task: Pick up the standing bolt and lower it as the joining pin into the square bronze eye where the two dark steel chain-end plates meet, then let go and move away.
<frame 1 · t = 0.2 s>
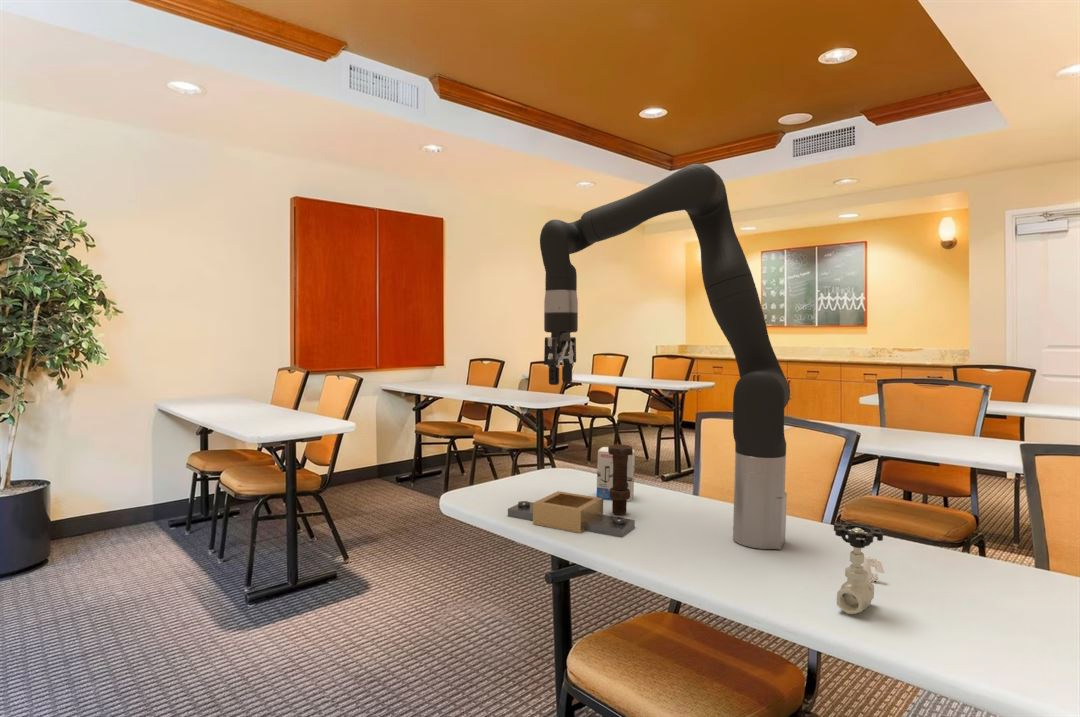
hand: (560, 383, 141), 28 cm above the table, tool pointing down, fingers open, 8 cm apart
valve: (855, 610, 92), on the table
chain link b: (531, 514, 137), on the table
chain link a: (607, 528, 128), on the table
ink box: (615, 498, 152), on the table
clip: (866, 581, 103), on the table
link eye: (568, 521, 132), on the table
bolt: (619, 514, 138), on the table
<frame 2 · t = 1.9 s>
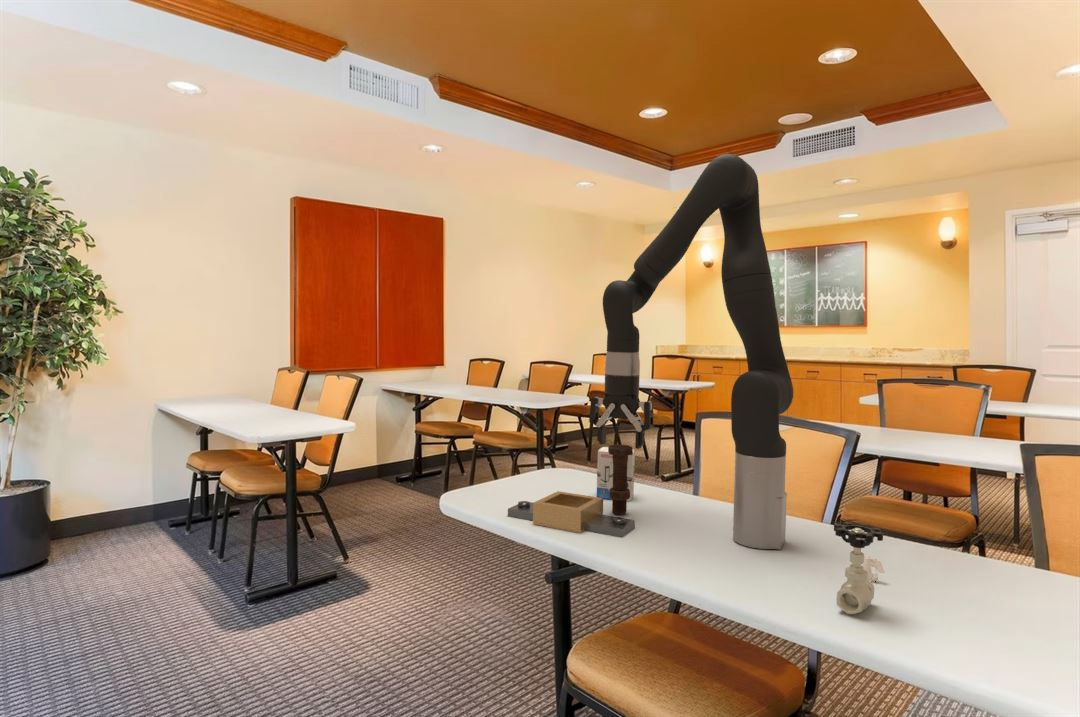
hand: (620, 445, 138), 15 cm above the table, tool pointing down, fingers open, 8 cm apart
nothing on the table moved.
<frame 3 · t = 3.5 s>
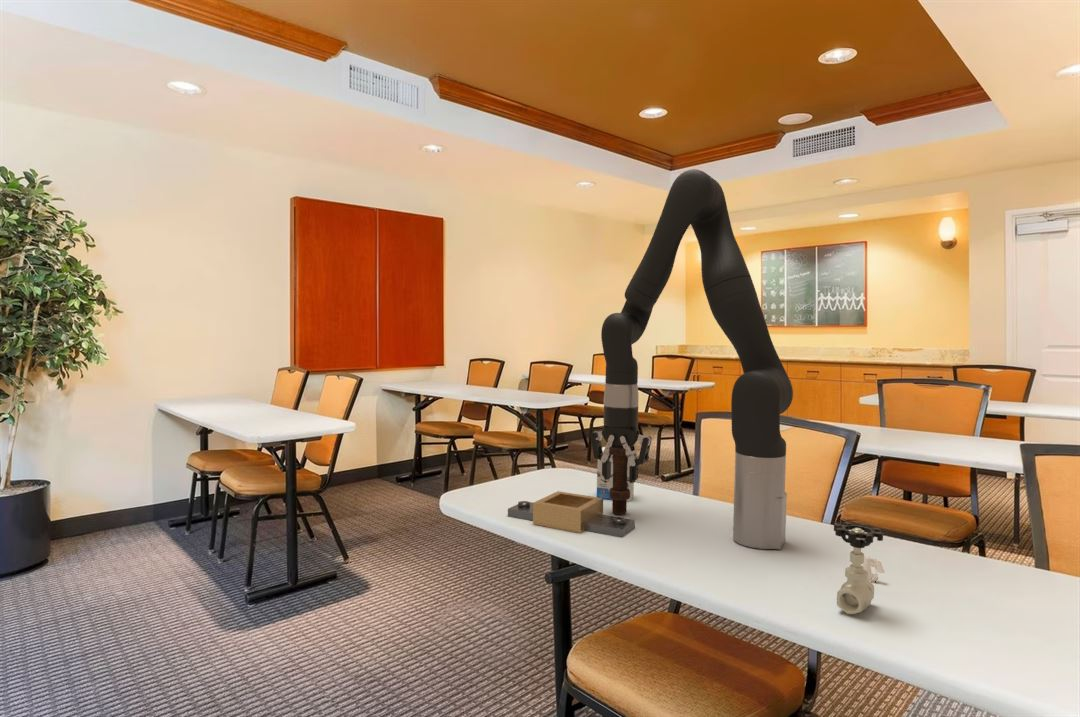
hand: (619, 480, 138), 7 cm above the table, tool pointing down, fingers closed on bolt, 5 cm apart
bolt: (619, 514, 138), on the table, touching gripper
everything else where it was.
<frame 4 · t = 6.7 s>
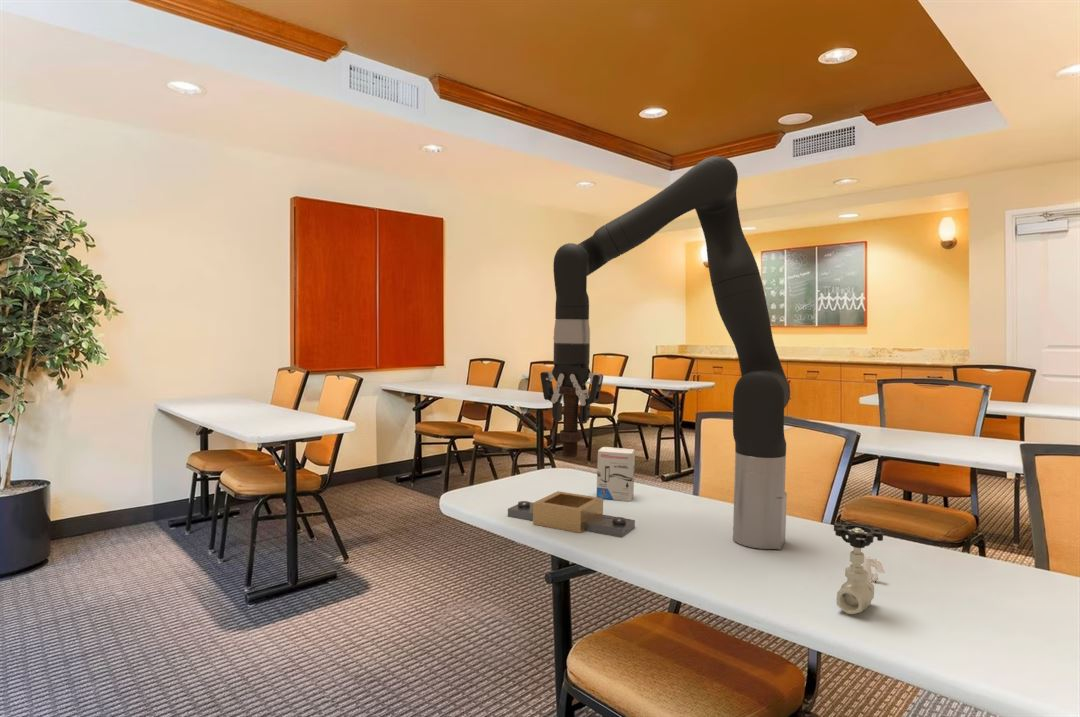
hand: (570, 421, 131), 21 cm above the table, tool pointing down, fingers closed on bolt, 5 cm apart
bolt: (569, 457, 132), point 14 cm above the table, touching gripper
everything else where it was.
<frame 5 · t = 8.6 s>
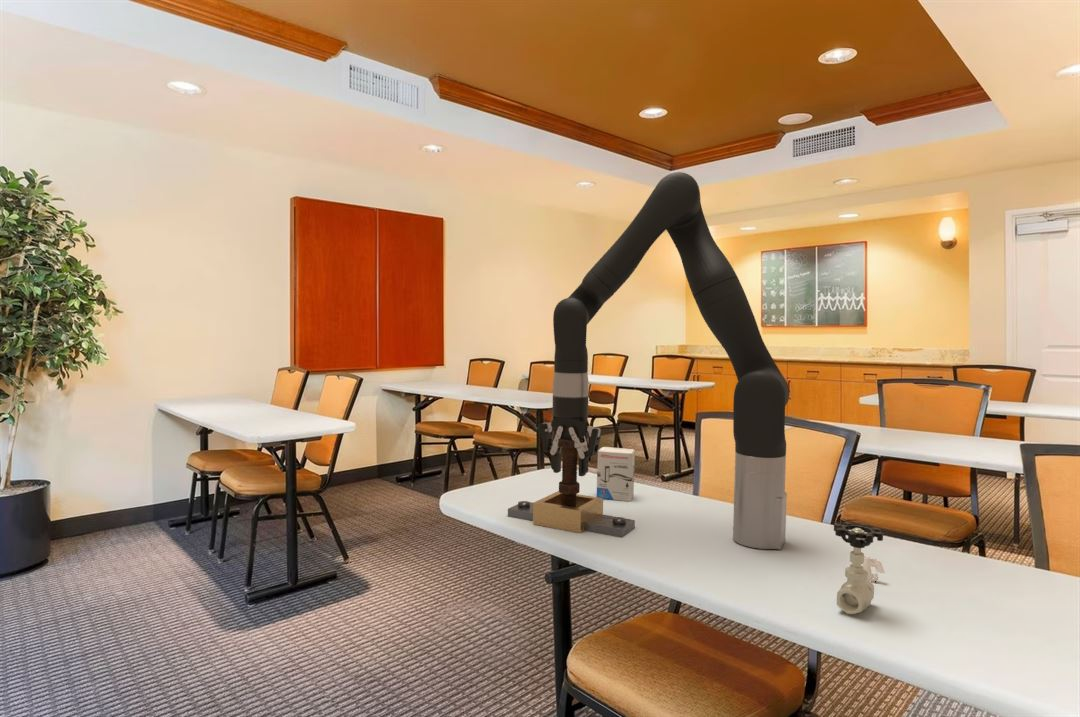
hand: (569, 473, 132), 10 cm above the table, tool pointing down, fingers closed on bolt, 5 cm apart
bolt: (568, 509, 132), point 3 cm above the table, touching gripper
everything else where it was.
when the fingers open (8 cm above the table, at t = 10.0 s): bolt stays where it is, resting in link eye.
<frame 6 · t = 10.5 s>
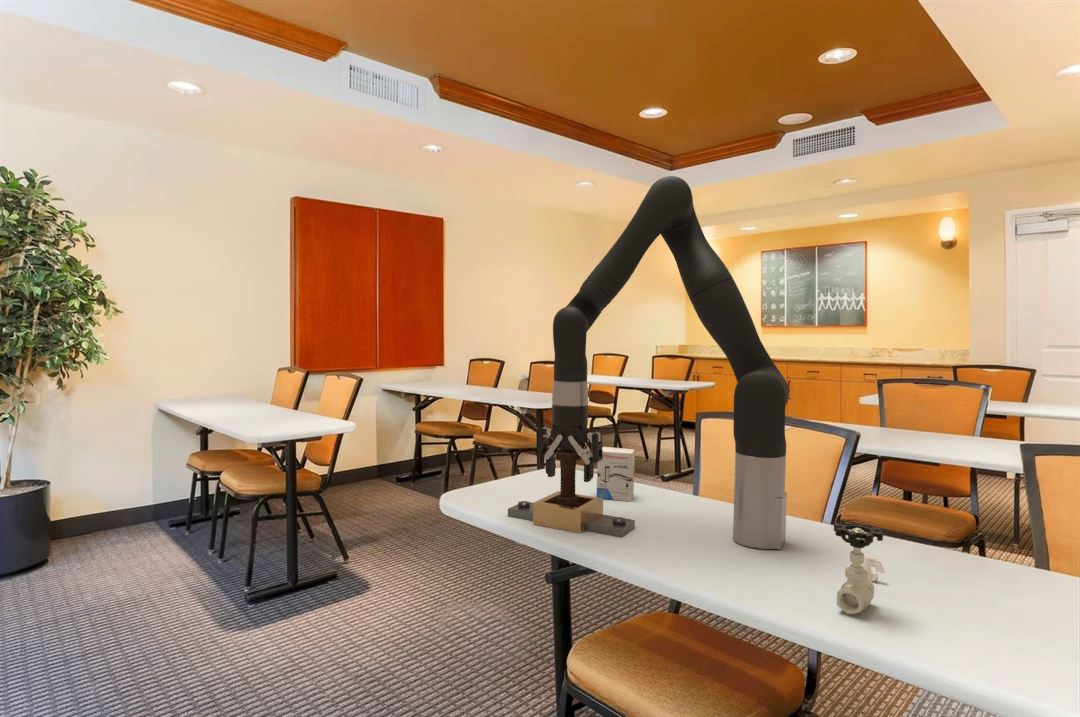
hand: (569, 478, 132), 9 cm above the table, tool pointing down, fingers open, 8 cm apart
bolt: (567, 522, 132), resting in link eye
everything else where it was.
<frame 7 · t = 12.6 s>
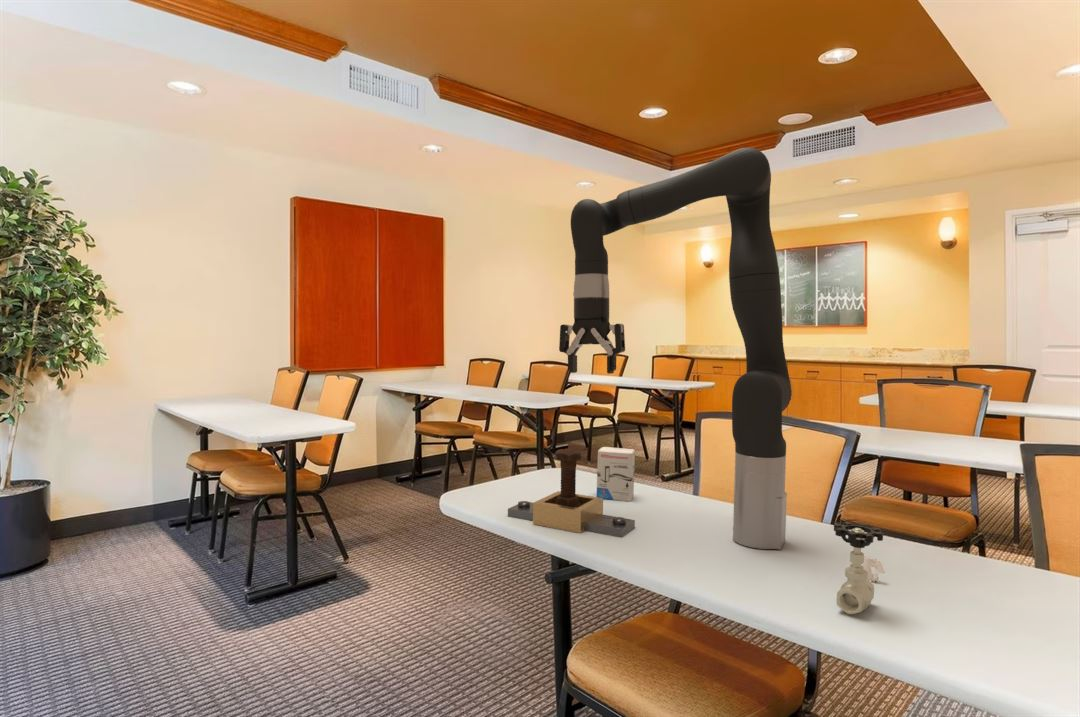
hand: (591, 373, 133), 31 cm above the table, tool pointing down, fingers open, 8 cm apart
nothing on the table moved.
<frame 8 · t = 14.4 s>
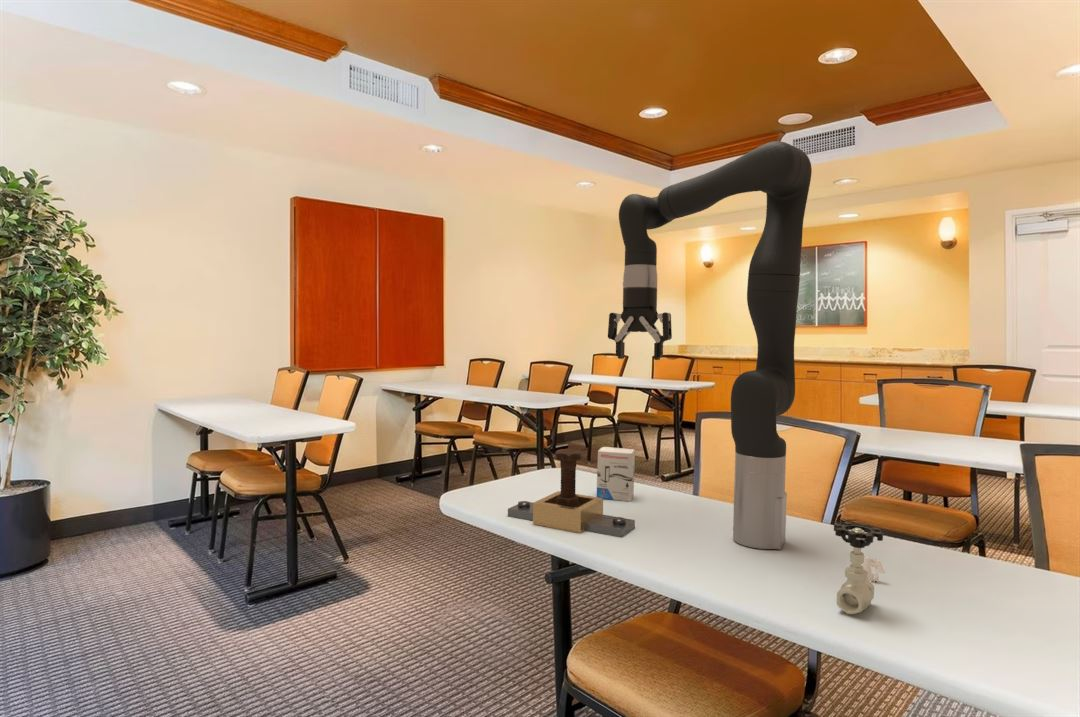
hand: (638, 359, 140), 34 cm above the table, tool pointing down, fingers open, 8 cm apart
nothing on the table moved.
at the end: bolt 0.2 cm off-centre on the link eye, point 0.0 cm above the link eye's base; bolt tilted 0°; the gripper is holding nothing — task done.
